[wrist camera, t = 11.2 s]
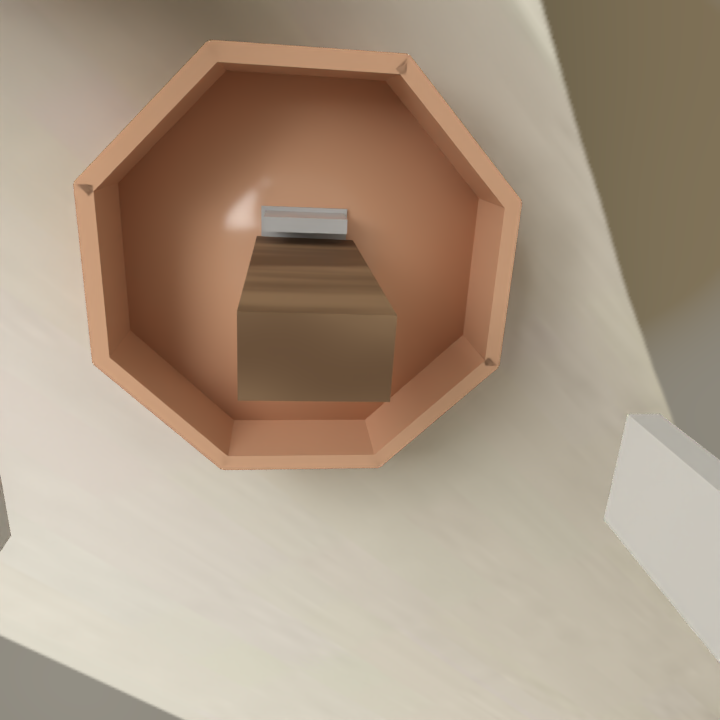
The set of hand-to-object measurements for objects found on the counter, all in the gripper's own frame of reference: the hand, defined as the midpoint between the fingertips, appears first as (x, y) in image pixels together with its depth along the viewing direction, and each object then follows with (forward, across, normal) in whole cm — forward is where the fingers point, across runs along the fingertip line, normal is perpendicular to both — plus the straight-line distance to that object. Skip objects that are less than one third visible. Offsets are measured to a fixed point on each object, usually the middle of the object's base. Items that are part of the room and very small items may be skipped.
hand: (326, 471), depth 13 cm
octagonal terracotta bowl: (+22, 0, 0) cm, 22 cm away
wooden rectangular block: (+21, 0, 0) cm, 21 cm away
